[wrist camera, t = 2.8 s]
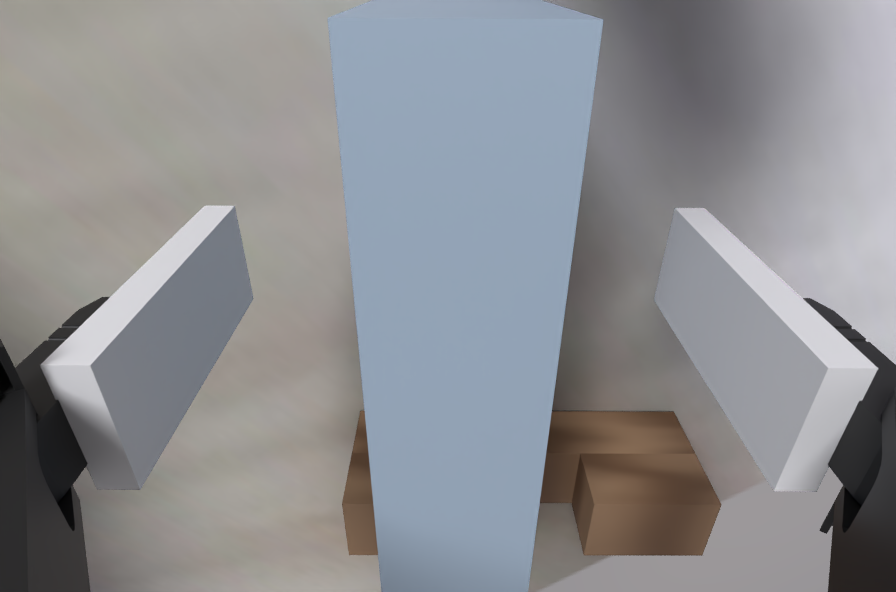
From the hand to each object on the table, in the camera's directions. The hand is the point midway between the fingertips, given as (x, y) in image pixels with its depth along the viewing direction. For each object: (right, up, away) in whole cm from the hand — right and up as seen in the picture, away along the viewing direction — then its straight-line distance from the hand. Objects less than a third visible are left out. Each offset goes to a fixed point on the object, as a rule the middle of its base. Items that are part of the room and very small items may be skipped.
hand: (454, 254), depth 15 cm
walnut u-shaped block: (+3, -8, +11) cm, 14 cm away
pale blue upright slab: (0, +3, +5) cm, 6 cm away
